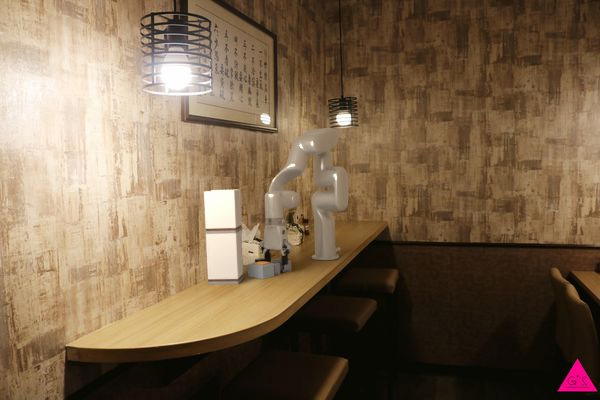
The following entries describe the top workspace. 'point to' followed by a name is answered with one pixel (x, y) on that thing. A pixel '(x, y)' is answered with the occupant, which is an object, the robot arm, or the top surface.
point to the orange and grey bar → (270, 263)
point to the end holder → (261, 270)
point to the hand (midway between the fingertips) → (276, 263)
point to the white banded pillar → (223, 236)
